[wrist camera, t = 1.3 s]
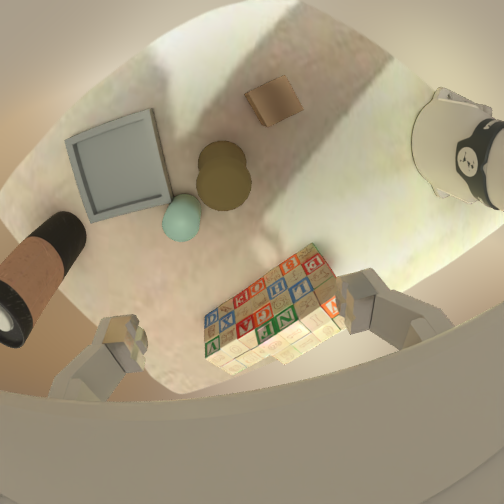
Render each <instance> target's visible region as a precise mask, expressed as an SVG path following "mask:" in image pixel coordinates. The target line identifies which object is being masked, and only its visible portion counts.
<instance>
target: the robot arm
mask: <svg viewBox="0 0 504 504" xmlns="http://www.w3.org/2000/svg"><path fill="white" fill-rule="evenodd" d="M447 96H448V97H447ZM412 152H413V157H414V161H415V164H416V167H417V169H418V171H419V172H420V174H421V175H422V176H423V177H424V178H425V179H426V180H427V181H428V182H429V183H430V184H431V185H432V187H433V190H434V192H435V194H436V195H437V196H438V197H440V198H445V197H447V196H450V195H451V196H454V197H456V198H458V199H460V200H462V201H464V202H466V203H469V204H472V202H476V201H478V200H479V201H480V202H481V203H483V204H484V205H486V206H488V207H491V208H493V209H495V210H502V211H503V212H504V121H501V120H496V119H494V118H493V117H492V108H491V107H489V106H486V105H481V104H477V103H474V102H472V101H470V100H468V99H466V98H465V97H463V96H461V95H459V94H457V93H454V92H452V91H450V90H448V89H446V88H443V87H439V88H438V89H437V90H436V92H435V94H434V97H433V99H432V101H431V102H430V103H429V104H427V105H426V106H425V107H424V108H423V109H422V111H421V112H420V114H419V115H418V117H417V119H416V122H415V125H414V129H413V134H412ZM336 286H337V288H338V291H337V292H336V294H335V301H336V307H337V310H338V312H339V314H340V316H342V317H344V318H345V320H344V324H345V326H346V328H347V329H348V331H349V333H350V335H351V334H355V333H358V332H362V331H366V330H370V331H371V332H373V333H374V334H376V335H377V336H379V337H380V338H382V339H383V340H385V341H387V342H388V343H390V344H391V345H393V346H394V347H396V348H397V349H399V351H397V352H394V353H392V354H389V355H386V356H383V357H380V358H377V359H374V360H372V361H368V362H365V363H362V364H359V365H356V366H353V367H349V368H346V369H343V370H339V371H336V372H332V373H329V374H325V375H321V376H317V377H313V378H309V379H305V380H301V381H297V382H292V383H288V384H283V385H278V386H273V387H268V388H263V389H258V390H252V391H246V392H239V393H233V394H226V395H218V396H211V397H203V398H202V397H201V398H191V399H180V400H166V401H144V402H106V400H107V399H108V398H109V397H110V395H111V394H112V392H113V391H114V389H115V388H116V387H117V385H118V384H119V383H120V381H121V380H122V378H123V377H124V376H125V374H126V373H131V372H142V371H143V370H144V365H145V357H144V356H143V355H144V353H145V352H146V351H147V348H148V341H147V336H146V333H145V331H144V329H142V328H141V327H139V326H138V324H139V320H138V318H137V317H136V315H134V314H131V315H122V316H113V317H106V318H103V319H101V321H100V324H99V326H98V329H97V331H96V334H95V337H94V339H93V342H92V345H88V346H87V347H86V348H85V349H84V350H83V351H82V352H81V353H80V354H79V355H78V356H76V357H75V358H74V359H73V360H72V361H71V362H70V363H69V364H68V365H67V366H66V367H65V368H64V369H63V370H62V371H61V372H60V373H59V374H58V375H56V376H55V378H54V381H53V383H52V386H51V389H50V392H49V395H48V398H45V397H37V396H29V395H23V394H16V393H11V392H6V391H1V390H0V504H504V301H502V302H501V303H499V304H497V305H496V306H494V307H492V308H490V309H489V310H487V311H485V312H483V313H481V314H480V315H477V316H476V317H474V318H472V319H470V320H468V321H466V322H464V323H462V324H460V325H458V326H456V327H455V326H454V325H453V323H452V322H451V321H450V320H449V319H448V317H447V316H446V315H445V314H444V312H443V311H442V310H441V309H440V308H437V307H435V306H433V305H430V304H428V303H425V302H423V301H420V300H418V299H415V298H413V297H411V296H408V295H405V294H403V293H401V292H398V291H396V290H390V289H389V288H388V287H387V285H386V284H385V283H384V282H383V281H382V279H381V278H380V277H379V276H378V274H377V273H376V272H375V271H374V270H373V269H372V268H368V269H364V270H361V271H358V272H354V273H350V274H346V275H341V276H337V278H336Z"/></svg>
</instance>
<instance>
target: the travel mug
mask: <svg viewBox="0 0 504 504" xmlns="http://www.w3.org/2000/svg"><path fill="white" fill-rule="evenodd" d="M85 243H86V232H85V228H84V226H83V224H82V223H81V221H80V220H79V219H78V218H77V217H76V216H75V215H73V214H71V213H69V212H59V213H56V214H55V215H53V216H52V217H51V218H49V219H48V220H47V221H46V222H44V223H43V224H42V225H41V226H39V227H38V228H37V229H36V230H35V231H34V232H32V233H31V234H30V235H29V236H28V237H27V238H25V239H24V240H23V241H22V242H21V243H20V244H19V245H18V246H17V247H16V249H15V250H14V251H13V252H12V253H11V254H10V255H9V256H8V257H7V258H6V259H5V260H4V261H3V262H2V263H1V265H0V343H2V344H4V345H6V346H8V347H11V348H20V347H21V346H23V344H24V343H25V341H26V339H27V338H28V336H29V334H30V332H31V330H32V329H33V327H34V325H35V323H36V322H37V320H38V318H39V317H40V315H41V313H42V311H43V310H44V308H45V307H46V305H47V304H48V302H49V300H50V299H51V297H52V296H53V294H54V293H55V291H56V290H57V288H58V287H59V285H60V284H61V282H62V281H63V279H64V277H65V276H66V274H67V273H68V271H69V269H70V268H71V266H72V265H73V263H74V262H75V260H76V258H77V257H78V255H79V254H80V252H81V251H82V249H83V248H84V246H85Z"/></svg>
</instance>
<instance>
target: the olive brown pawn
mask: <svg viewBox="0 0 504 504" xmlns="http://www.w3.org/2000/svg"><path fill="white" fill-rule="evenodd" d="M198 168H199V174H198V177H197V180H196V189H197V192H198V195H199V197H200V198H201V200H202V201H203V202H204V204H206V205H207V206H209V207H210V208H212V209H215V210H218V211H229V210H232V209H235V208H237V207H239V206H240V205H242V204H243V203H244V201H245V200H246V199H247V198H248V195H249V193H250V191H251V184H252V181H251V177H250V173H249V171H248V170H247V168H246V159H245V155H244V153H243V151H242V150H241V148H239V147H238V146H237V145H236V144H234V143H231V142H229V141H217V142H213V143H211V144H210V145H208V146H207V147H205V149H204V150H203V151H202V152H201V154H200V157H199V160H198Z"/></svg>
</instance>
